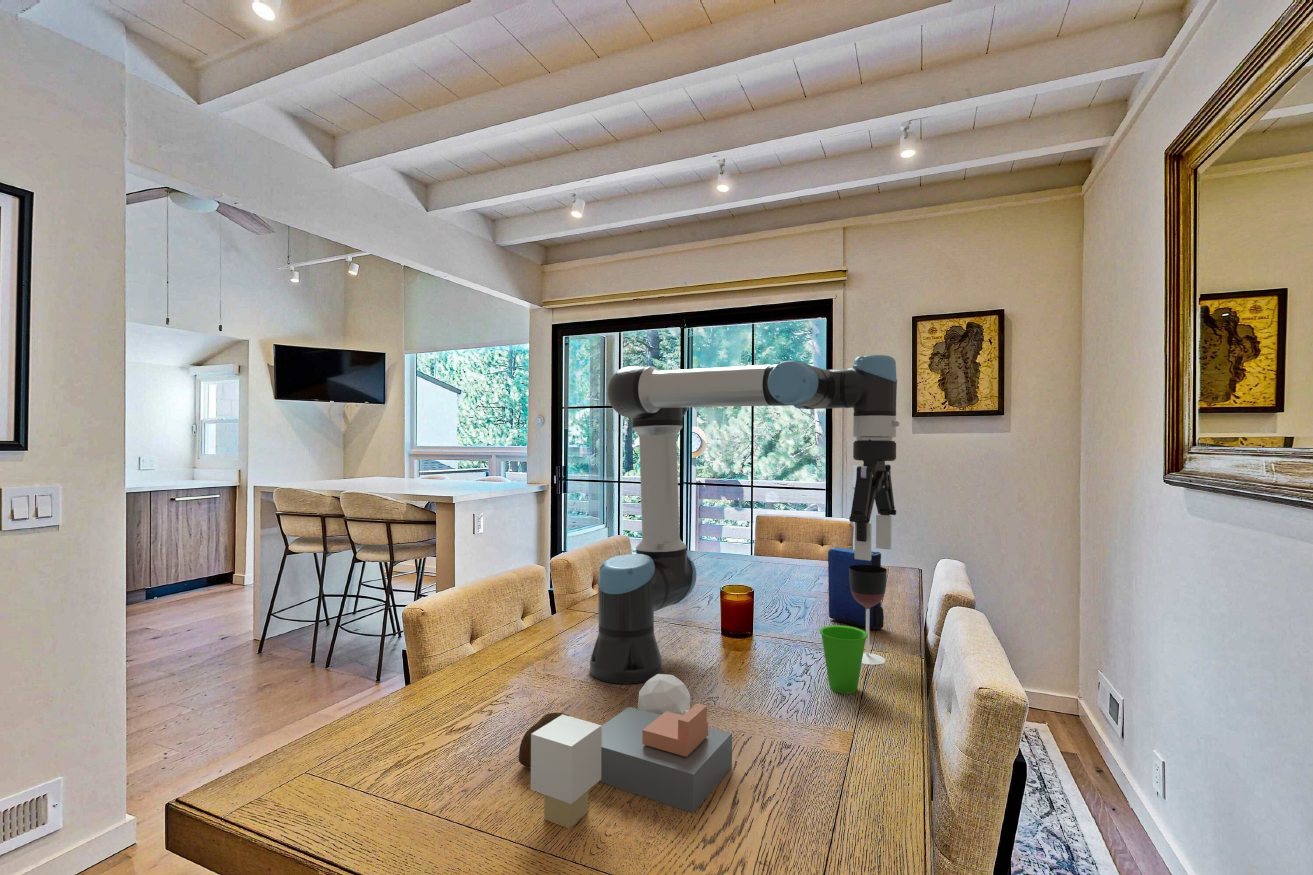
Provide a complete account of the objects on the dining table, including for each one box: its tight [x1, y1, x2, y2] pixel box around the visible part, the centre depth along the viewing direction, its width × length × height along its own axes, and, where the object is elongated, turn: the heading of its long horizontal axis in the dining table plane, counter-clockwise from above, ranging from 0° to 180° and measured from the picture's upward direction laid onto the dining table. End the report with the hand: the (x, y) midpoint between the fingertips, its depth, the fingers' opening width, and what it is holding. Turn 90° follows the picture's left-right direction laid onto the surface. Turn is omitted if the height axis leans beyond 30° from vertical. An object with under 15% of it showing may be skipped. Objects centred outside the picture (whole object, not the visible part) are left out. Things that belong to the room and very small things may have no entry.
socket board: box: [598, 706, 733, 814], centre depth 89 cm, size 18×13×5 cm
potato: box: [518, 712, 570, 769], centre depth 92 cm, size 7×10×7 cm
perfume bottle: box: [637, 673, 691, 715], centre depth 102 cm, size 9×9×12 cm
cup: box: [819, 624, 868, 695], centre depth 120 cm, size 9×9×11 cm
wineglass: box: [849, 565, 888, 666], centre depth 136 cm, size 8×9×20 cm
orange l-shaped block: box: [642, 703, 709, 757], centre depth 88 cm, size 7×7×4 cm
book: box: [827, 546, 885, 630], centre depth 162 cm, size 14×5×20 cm, turn 42°
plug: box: [530, 714, 602, 829], centre depth 79 cm, size 6×6×11 cm
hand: (873, 554), depth 114 cm, fingers open, 13 cm apart
